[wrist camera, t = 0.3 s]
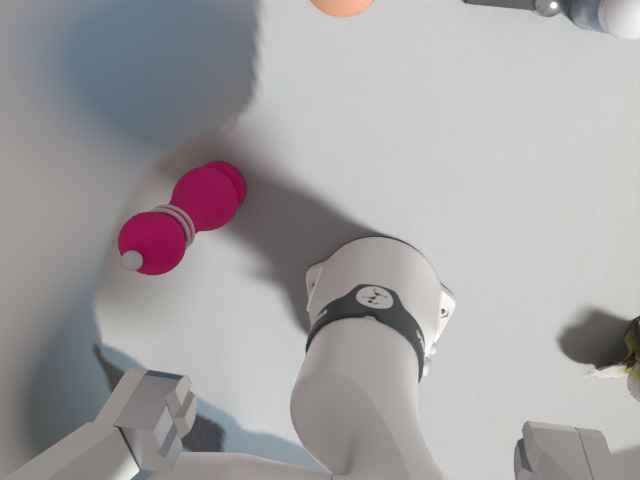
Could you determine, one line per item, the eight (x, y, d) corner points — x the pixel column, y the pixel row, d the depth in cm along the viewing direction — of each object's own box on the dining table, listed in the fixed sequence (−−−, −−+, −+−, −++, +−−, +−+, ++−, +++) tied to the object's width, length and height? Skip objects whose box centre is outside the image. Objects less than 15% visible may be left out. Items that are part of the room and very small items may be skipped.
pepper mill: (187, 161, 57) (74, 231, 39) (240, 152, 54) (145, 222, 37) (206, 215, 59) (108, 303, 42) (257, 209, 57) (176, 298, 40)
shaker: (609, 33, 41) (660, 42, 31) (562, 28, 42) (597, 35, 32) (627, -19, 39) (687, -26, 30) (577, -23, 40) (620, -31, 30)
